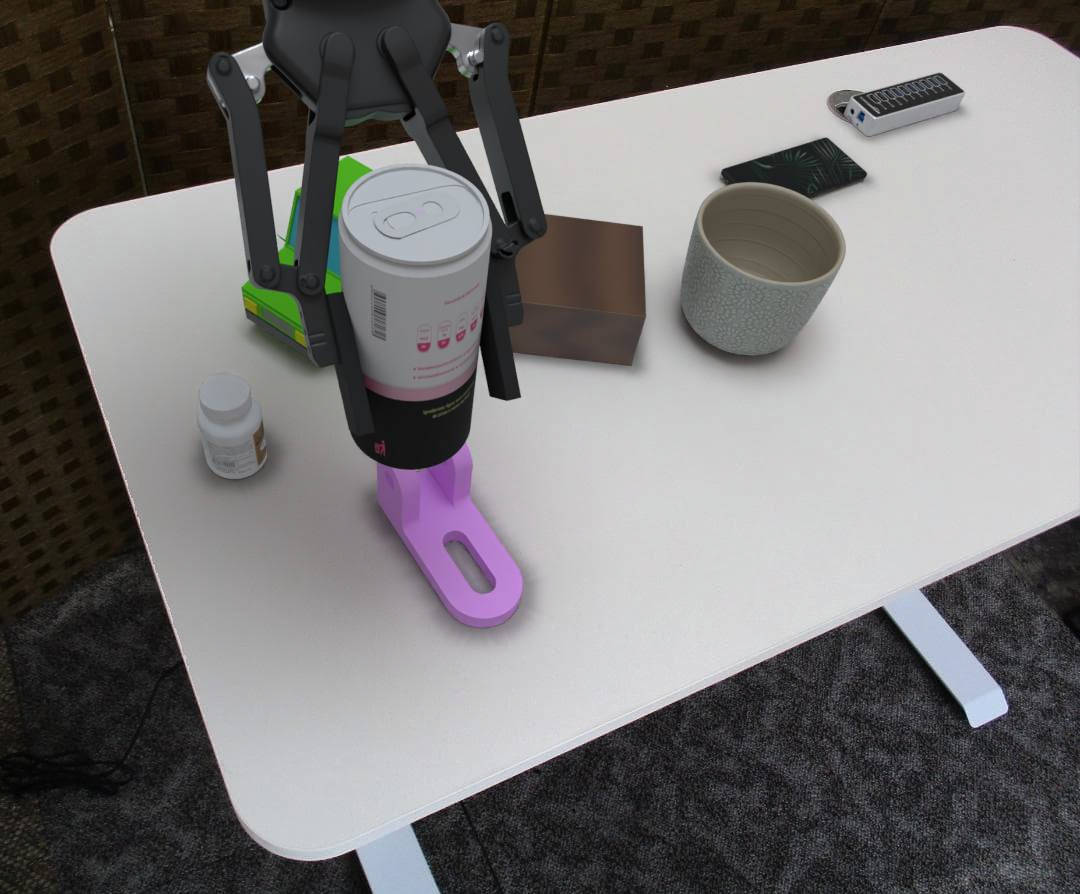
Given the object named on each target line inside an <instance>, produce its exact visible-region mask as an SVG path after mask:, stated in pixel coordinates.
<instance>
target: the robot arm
mask: <svg viewBox="0 0 1080 894" xmlns="http://www.w3.org/2000/svg"><path fill="white" fill-rule="evenodd" d="M261 2H262V8H263V12H264V27H263V32H262V35H261V38H260V42H259V43H258V44H255V45H252V46H250V47H247V48H245V49H242V50H239V51H238V52H237V51H236V52H235V53H232V54H230V53H229V52H225V51H219V52H215V53H214V54H212V55H211V56H210V58H209V60H208V65H207V70H206V76H205V77H206V78H205V79H206V83H207V86H208V87H209V89H210V92H211V93H212V96H213V98H214V100H215V102H216V103H217V105H218V107H219V109H220V111H221V113H222V115H223V117H224V119H225V121H226V127H227V134H228V142H229V148H230V156H231V163H232V170H233V178H234V184H235V190H236V191H235V193H236V198H237V206H238V212H239V220H240V225H241V233H242V234H241V235H242V243H243V248H244V254H245V263H246V269H247V277H248V280H249V281H250V283H251V284H252V285H253V286H254V287H256V288H258V289H263V290H269V291H276V292H282V293H285V294H288V295H289V296H291V297H292V298H293V299H294V300H295V302H296V304H297V307H298V311H299V316H300V320H301V324H302V329H303V333H304V338H305V342H306V346H307V351H308V355H309V357H310V359H311V360H312V361H311V360H310V359H309V360H310V361H311V362H312V363H313V365H314V366H315V367H317V368H325V367H330V366H334V371H335V374H336V379H337V384H338V387H339V388H338V389H339V392H340V397H341V400H342V401H341V402H342V405H343V410H344V415H345V419H346V423H347V428H348V430H349V432H350V431H352V432H353V433H355V434H356V435H358V436H363V435H367V434H371V433H375V430H374V425H373V420H372V416H371V411H370V407H369V402H368V398H367V393H366V389H365V384H364V379H363V375H362V370H361V366H360V361H359V357H358V352H357V347H356V343H355V338H354V334H353V329H352V325H351V320H350V315H349V311H348V308H347V304H346V301H345V297H344V292H335V293H329V294H326V291H325V280H326V272H327V263H328V254H329V245H330V236H331V228H332V219H333V210H334V201H335V192H336V184H337V175H338V166H339V161H340V158H341V157H340V156H341V147H342V141H343V138H344V134H345V129H346V128H347V127H353V126H355V125H359V124H361V123H363V122H365V121H367V120H375V121H384V122H390V121H397V120H399V121H400V123H401V125H402V126H403V128H404V130H405V132H406V134H407V135H408V136H409V137H410V138H412V140H413V141H414V142H415V144H416V146H417V148H418V150H419V151H420V153H421V155H422V157H423V159H424V161H425V162H426V165H432V166H436V167H440V168H443V169H446V170H449V171H452V172H454V173H456V174H458V175H460V176H462V177H463V178H465V179H467V180H468V181H469V182H471V183H472V184H473V185H474V186H475V187H476V188H477V189H478V190H479V191H480V192H481V194H482V195H483V197H484V198H485V200H486V202H487V205H488V208H489V216H490V219H491V223H492V238H491V247H490V256H489V265H488V274H487V283H486V292H485V301H484V310H483V319H482V328H481V337H480V346H479V351H480V355H481V360H482V365H483V370H484V375H485V380H486V385H487V390H488V395H489V397H490V398H493V399H497V400H500V401H505V402H508V401H513V400H518V399H522V393H521V389H520V384H519V379H518V378H519V377H518V373H517V368H516V362H515V357H514V352H513V351H512V346H511V341H510V335H509V330H508V327H512V326H517V325H521V324H522V322H523V316H524V310H523V305H522V299H521V294H520V289H519V283H518V278H517V272H516V267H515V258H516V255H517V254H518V253H519V250H520V249H522V248H523V247H524V246H526V245H528V244H529V243H531V242H532V241H534V240H536V239H539V238H541V237H543V236H544V234H545V233H546V231H547V221H546V218H545V214H546V213H545V210H544V207H543V203H542V199H541V196H540V192H539V187H538V184H537V181H536V177H535V173H534V169H533V164H532V162H531V161H532V160H531V158H530V153H529V151H528V146H527V143H526V140H525V135H524V131H523V128H522V124H521V120H520V116H519V113H518V108H517V106H516V102H515V97H514V94H513V90H512V86H511V83H510V79H509V59H510V45H511V44H510V42H511V41H510V40H511V37H510V32H509V30H508V27H506V25H504V24H503V23H500V22H491V23H490V24H488V25H487V26H486V27H484V28H483V27H477V26H473V25H472V26H471V25H465V24H461V23H454V22H451V19H450V18H449V16H448V14H447V12H446V11H445V10H444V8H443V7H442V6H441V4H440V2H439V1H438V0H261ZM446 51H447V52H448V53H450V54H452V56H453V57H454V60H455V61H456V66H457V70H458V72H459V73H460V74H461V75H462V76H464V77H466V78H467V79H468V80H467V81H468V90H469V97H470V101H471V105H472V108H473V113H474V115H475V119H476V122H477V127H478V130H479V134H480V137H481V140H482V141H481V142H482V144H483V145H482V146H483V148H484V152H485V155H486V159H487V162H488V167H489V171H490V174H491V177H492V180H493V184H494V189H495V192H496V195H497V199H498V202H499V206H500V210H501V213H502V216H501V214H500V212H499V210H498V208H497V206H496V205H495V204H496V203H494V200H493V199H492V197H491V195H490V193H489V191H488V189H487V187H486V185H485V184H484V182H483V180H482V178H481V176H480V175H479V173H478V170H477V169H476V166H475V165H474V163H473V161H472V160H471V158H470V156H469V154H468V152H467V150H466V149H465V147H464V145H463V143H462V141H461V139H460V137H459V135H458V134H457V132H456V130H455V127H454V126H453V124H452V122H451V120H450V116H449V110H448V108H447V105H446V103H445V101H444V100H443V98H442V96H441V94H440V92H439V90H438V88H437V87H436V85H435V83H434V79H435V77H436V74H437V72H438V70H439V68H440V65H441V63H442V60H443V58H444V57H445V54H446ZM269 71H272V72H273V73H274V74H275V75H276V76H277V77H278V78H279V80H281V81H282V82H283V83H284V84H285V85H286V86H287V87H288V88H289V89H290V90H291V91H292V92H293V93H294V94H295V95H296V96H297V97H298V98H299V99H300V100H301V101H302V102H303V103H304V104H305V105H306V106H307V107H308V114H307V123H306V131H305V152H304V159H303V160H304V161H303V168H302V170H303V171H302V178H301V179H302V180H301V186H300V187H301V196H300V205H299V214H298V223H297V232H296V241H295V250H294V259H293V266H292V265H287V264H281V263H280V261H279V253H278V252H279V247H278V238H277V232H276V224H275V218H274V211H273V210H274V209H273V202H272V194H271V188H270V187H271V186H270V179H269V172H268V171H269V170H268V165H267V157H266V150H265V143H264V142H265V141H264V134H263V127H262V120H261V116H260V115H261V114H260V110H259V107H258V104H259V103H260V102H261V101H262V100H263V98H264V96H265V93H266V89H267V87H266V82H265V75H266V73H268V72H269ZM502 217H503V218H502Z"/></svg>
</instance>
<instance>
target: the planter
mask: <svg viewBox="0 0 1080 894" xmlns="http://www.w3.org/2000/svg"><path fill="white" fill-rule="evenodd" d="M695 216H696V217H695V219H694V222H693V226H692V230H691V234H690V238H689V242H688V247H687V250H686V251H687V252H686V255H685V259H684V265H683V270H682V275H681V282H680V305H681V309H682V312H683V314H684V317H685V319H686V320H687V321H686V322H688V325H690V327H691V328H692V330H693V331H694V332H695V333H696V334H697V335H698V336H699V337H701V339H703V340H704V341H706V342H707V343H708V344H710V345H711V346H712V347H715V348H717V349H720V350H722V351H724V352H727V353H730V354H734V355H739V356H760V355H761V356H762V355H767V354H771V353H773V352H776V351H779V350H781V349H782V348H785V347H786V346H787V345H789V344H790V343H791V342H792V341H794V340H795V338H797V337H798V336H799V334H800V333H801V331H802V330H804V328H805V327H806V325H807V324H808V322H809V321H810V320H811V318H812V316H813V315H814V313H815V312H816V310H817V309H818V308H819V306H820V304H821V303H822V301H823V299H824V298H825V296H826V294H827V293H828V291H829V289H830V288H831V286H832V284H833V283H834V281H835V279H836V277H837V275H838V273H839V272H840V269H841V267H842V265H843V263H844V260H845V257H846V254H847V244H846V239H845V236H844V234H843V232H842V231H843V230H842V229H841V228H840V226H839V224H838V223H837V221H836V220H835V218H834V217H833V216H832V215H831V214H830V213H829V212H828V211H827V210H826V209H824V208H823V207H822V205H820V204H818V203H817V202H816V201H814V200H812V199H811V198H810V197H809V198H807V197H805V196H804V195H802V194H799V193H797V192H795V191H792V190H790V189H787V188H784V187H780V186H777V185H772V184H766V183H757V182H745V183H736V184H728V185H724V186H722V187H720V188H718V189H715V190H714V191H712V192H711V193H710V194H709V195H707V196H706V197H705V198H704V200H703V201H702V202H701V204H700V206H699V209H698V211H697V213H696V215H695Z"/></svg>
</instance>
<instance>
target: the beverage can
mask: <svg viewBox="0 0 1080 894" xmlns="http://www.w3.org/2000/svg"><path fill="white" fill-rule="evenodd" d="M372 170H373V171H371V172H369V173H367V174H365V175H364V176H362V177H361V178H359V179H358V180H357V181H355V182H354V183H353V184H352V185H351V187H350V188H349V189H348V191H347V192H346V194H345V196H344V199H343V203H342V208H341V211H340V214H339V219H338V230H339V249H340V269H341V289H342V292H344V297H345V301H346V304H347V308H348V311H349V315H350V320H351V325H352V329H353V334H354V338H355V343H356V347H357V352H358V357H359V361H360V366H361V370H362V375H363V379H364V384H365V389H366V393H367V398H368V402H369V407H370V411H371V416H372V420H373V425H374V430H375V433H371V434H367V435H363V436H358V435H356V434H355V433H353V432H352V431H350V430H349V434H350V437H351V438H352V440H353V442H354V443H355V445H356V446H357V448H358V449H359V450H360V451H361V452H362V453H363V454H364V455H365V456H367V457H368V458H369V459H371V460H372V461H374V462H376V463H377V462H378V463H380V464H382V465H385V466H388V467H391V468H396V469H402V470H415V471H418V470H425V469H427V468H430V467H433V466H436V465H439V464H441V463H443V462H445V461H447V460H448V459H450V458H451V457H453V456H454V455H455V454H456V453H457V452H458V451H459V450H460V449H461V448H462V447H463V445H464V444H465V442H466V443H467V440H468V438H469V436H470V433H471V428H472V426H471V425H472V418H473V417H472V416H473V409H474V401H475V400H474V399H475V391H476V381H477V373H478V364H479V363H478V362H479V353H480V337H481V328H482V319H483V310H484V301H485V292H486V283H487V274H488V265H489V256H490V247H491V238H492V223H491V219H490V216H489V208H488V205H487V202H486V200H485V198H484V197H483V195H482V194H481V192H480V191H479V190H478V189H477V188H476V187H475V186H474V185H473V184H472V183H471V182H469V181H468V180H467V179H465V178H463V177H462V176H460V175H458V174H456V173H454V172H452V171H449V170H446V169H443V168H440V167H436V166H432V165H428V164H426V163H398V164H391V165H386V166H382V167H379V168H376V169H372Z"/></svg>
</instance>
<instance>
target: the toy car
mask: <svg viewBox="0 0 1080 894" xmlns="http://www.w3.org/2000/svg"><path fill="white" fill-rule="evenodd" d="M373 170H374V169H372V168H370V167H369V166H367V165H365V164H363V163H362V162H361V161H359V160H357V159H355V158H353V157H352V156H349V155H346V156H345V157H342V158H341V159H339V166H338V175H337V184H336V192H335V201H334V210H333V219H332V228H331V236H330V245H329V254H328V263H327V272H326V280H325V291H326V294H329V293H335V292H342V289H341V269H340V249H339V230H338V219H339V214H340V211H341V208H342V203H343V199H344V196H345V194H346V192H347V191H348V189H349V188H350V187H351V185H352V184H353V183H354V182H355V181H357V180H358V179H359V178H361V177H362V176H364V175H365V174H367V173H369V172H371V171H373ZM301 187H302V186H300V187H298V188H297V189H295V191H294V195H293V198H292V199H293V200H292V205H291V209H290V210H291V211H290V215H289V219H288V225H287V230H286V236H285V238H284V237H282V236H281V235H279V234H278V233H276V237H278V238H279V239H280V240H282V241H283V242H284V245H283V247H282V248H280V250H278V253H279V261H280V263H281V264H287V265H292V266H293V259H294V250H295V241H296V232H297V223H298V214H299V205H300V196H301ZM240 288H241V293H242V301H243V307H244V312H245V317H246V319H247V320H249V321H250V322H251V323H253V324H255V325H256V326H258V327H259V328H261V329H262V330H264V331H266V332H267V333H269V334H270V335H271V336H273V337H274V338H276V339H277V340H279V341H281V342H282V343H284V344H285V345H287V346H288V347H289V348H291V349H293V350H294V351H296V352H297V353H299V354H300V355H302V356H304V357H305V358H306V359H308V360H309V361H311V362H312V360H311V359H310V357H309V355H308V351H307V346H306V342H305V338H304V333H303V329H302V324H301V320H300V316H299V311H298V307H297V304H296V302H295V300H294V299H293V298H292V297H291V296H289V295H288V294H285V293H282V292H276V291H269V290H263V289H258V288H256V287H254V286H253V285H252V284H251V283H250V281H249V279H248V280H247V281H246V282H245V283H244V284H243V285H242V286H241V287H240Z"/></svg>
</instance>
